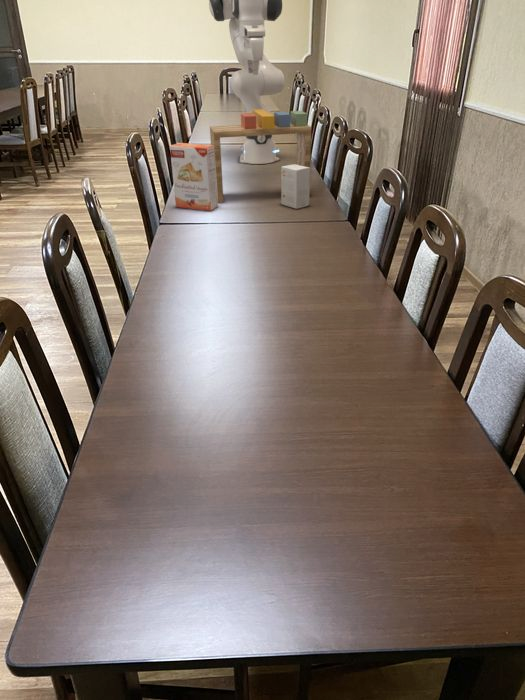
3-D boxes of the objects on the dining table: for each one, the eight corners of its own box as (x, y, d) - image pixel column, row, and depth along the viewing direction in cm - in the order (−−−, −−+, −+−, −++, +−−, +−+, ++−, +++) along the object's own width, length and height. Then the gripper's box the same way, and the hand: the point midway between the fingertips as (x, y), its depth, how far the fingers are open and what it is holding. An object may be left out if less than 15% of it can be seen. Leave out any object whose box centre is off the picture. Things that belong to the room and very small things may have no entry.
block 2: (274, 124, 193) (274, 112, 191) (285, 123, 193) (285, 111, 191) (279, 127, 186) (279, 114, 184) (290, 126, 187) (290, 114, 185)
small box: (309, 205, 188) (310, 167, 181) (296, 209, 184) (296, 170, 178) (294, 201, 193) (294, 163, 186) (280, 204, 190) (280, 166, 183)
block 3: (290, 123, 194) (290, 111, 192) (301, 122, 194) (301, 110, 192) (295, 126, 187) (296, 114, 185) (307, 126, 188) (307, 113, 186)
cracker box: (175, 208, 188) (168, 145, 177) (183, 203, 193) (177, 142, 182) (210, 211, 184) (206, 147, 173) (218, 207, 188) (214, 144, 178)
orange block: (252, 121, 200) (252, 109, 198) (263, 120, 201) (262, 109, 199) (263, 129, 183) (262, 116, 181) (274, 128, 184) (274, 115, 182)
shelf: (214, 194, 203) (209, 126, 191) (301, 188, 208) (302, 121, 196) (218, 202, 193) (213, 131, 181) (309, 196, 198) (311, 126, 186)
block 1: (241, 125, 191) (240, 113, 189) (252, 125, 191) (251, 113, 189) (245, 129, 184) (244, 116, 182) (256, 128, 185) (256, 116, 183)
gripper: (238, 31, 201) (240, 72, 208) (248, 30, 184) (249, 76, 191) (255, 30, 202) (256, 72, 209) (266, 30, 185) (266, 75, 192)
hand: (253, 74), depth 200 cm, fingers open, 8 cm apart
